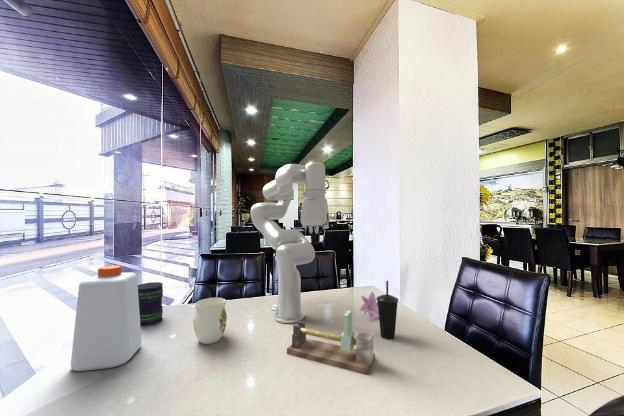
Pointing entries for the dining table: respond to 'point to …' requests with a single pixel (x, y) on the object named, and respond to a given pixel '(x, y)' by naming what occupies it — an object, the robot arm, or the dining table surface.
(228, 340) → the dining table surface
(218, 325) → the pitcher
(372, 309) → the lily
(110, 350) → the plastic bottle
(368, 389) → the dining table surface
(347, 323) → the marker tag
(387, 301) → the drinking cup
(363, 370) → the wooden rod slider stand
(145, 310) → the storage jar
